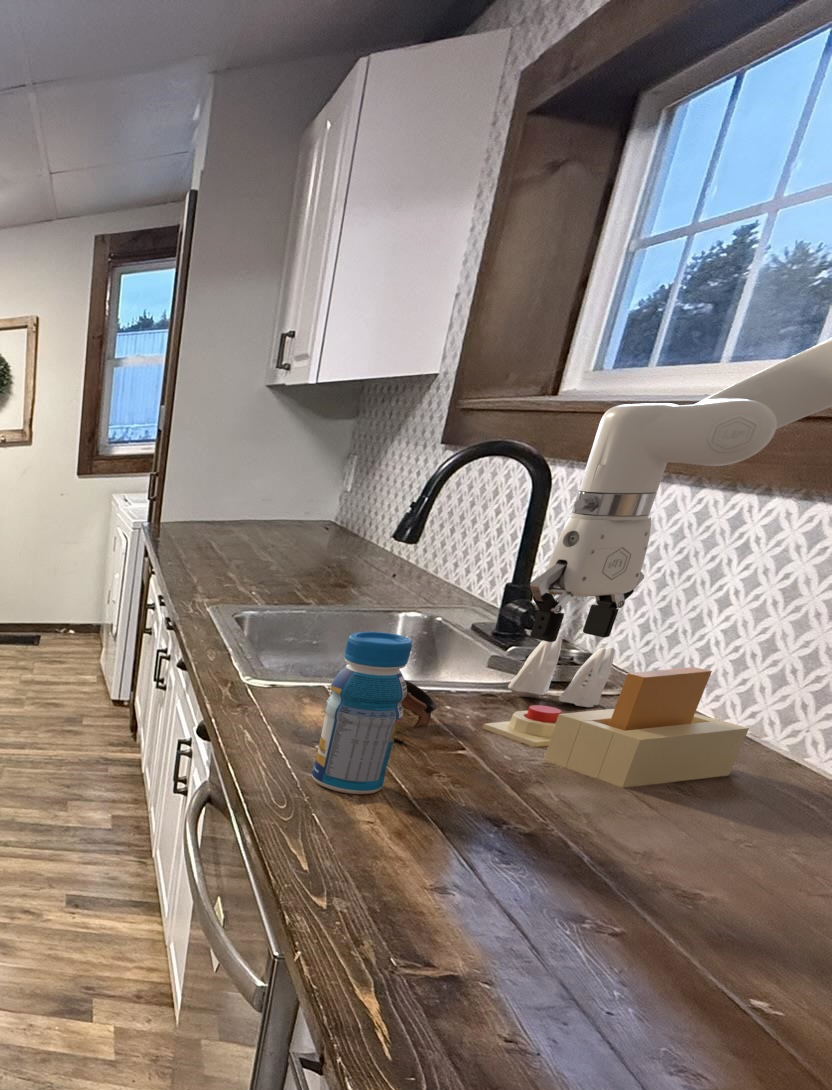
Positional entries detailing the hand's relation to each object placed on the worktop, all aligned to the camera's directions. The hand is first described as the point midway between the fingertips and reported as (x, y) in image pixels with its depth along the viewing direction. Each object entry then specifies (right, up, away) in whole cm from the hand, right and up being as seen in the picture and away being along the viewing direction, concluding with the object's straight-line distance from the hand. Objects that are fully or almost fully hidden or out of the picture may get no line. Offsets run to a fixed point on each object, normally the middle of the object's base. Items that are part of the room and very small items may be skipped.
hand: (569, 636), depth 114 cm
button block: (+1, -15, +6) cm, 16 cm away
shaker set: (+18, -7, +23) cm, 30 cm away
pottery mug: (-15, -12, +15) cm, 25 cm away
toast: (+3, -18, -6) cm, 19 cm away
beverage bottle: (-34, -21, -4) cm, 40 cm away
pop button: (0, -11, +5) cm, 12 cm away
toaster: (+3, -20, -6) cm, 21 cm away
